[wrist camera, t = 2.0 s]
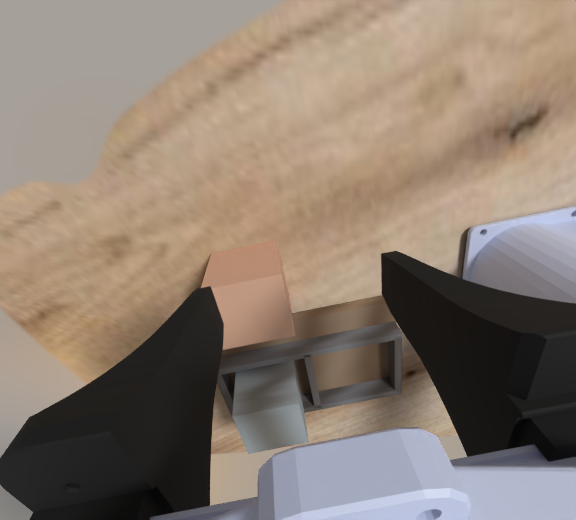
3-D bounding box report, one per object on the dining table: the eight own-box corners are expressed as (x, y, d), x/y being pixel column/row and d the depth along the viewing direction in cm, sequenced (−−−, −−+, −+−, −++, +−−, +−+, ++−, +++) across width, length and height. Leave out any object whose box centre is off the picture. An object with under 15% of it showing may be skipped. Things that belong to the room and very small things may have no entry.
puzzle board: (390, 293, 26) (425, 344, 20) (392, 386, 31) (419, 444, 26) (207, 330, 26) (194, 390, 20) (242, 415, 31) (239, 479, 26)
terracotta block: (276, 239, 22) (281, 274, 18) (288, 293, 25) (295, 335, 20) (211, 252, 22) (200, 290, 18) (229, 305, 25) (223, 349, 20)
